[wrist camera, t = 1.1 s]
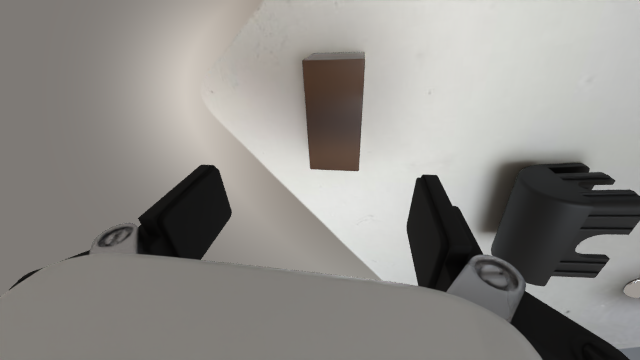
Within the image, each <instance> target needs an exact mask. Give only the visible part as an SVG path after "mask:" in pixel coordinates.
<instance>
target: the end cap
mask: <svg viewBox="0 0 640 360" xmlns="http://www.w3.org/2000/svg"><path fill="white" fill-rule="evenodd" d="M589 169H590V168H589V167H587V166H586V165H584V164H581V163H570V164H544V165H534V166H529V167H527V168H524V169H523V170H521V171H520V172H519V173H518V175H517V178H516V180H515V183H514V186H513V189H512V192H511V194H510V197H509V200H508V203H507V205H506V208H505V211H504V214H503V216H502V219H501V222H500V225H499V227H498V230H497V233H496V236H495V238H494V241H493V244H492V247H491V253H492V256H495V257H498V258H500V259H502V260H504V261H506V262H508V263H509V264H511V265H512V266H513V267H515V268H516V269H517V270H518V271H519V272H520V274H521V275H522V276H523V278H524V280H525V282H526V283H529V284H533V285H537V286H545V285H546V284H547V282H548V280H549V279H550V277H551V276H562V277H586V278H595V277H596V276H597V275H598V273H599V272H600V271H601V269H602V268H603V267H604V266H605V265H606V263H607V262H608V260H609V258H608V257H607V256H606V255H601V254H580V253H577V252H575V248H576V246H577V245H578V244H579V243H580V242H581V241H583V240H585V239H587V238H589V237H592V236H596V235H602V234H626V235H629V234H630V232H631V231H632V230H633V228H634V227H635V226H636V225H637V223H638V222H639V221H640V196H639V195H637V194H636V193H635V192H634V191H631V190H592V188H593V187H594V185H613V183H614V182H615V180H614V179H612V178H611V177H610V176H609V175H606V174H604V173H602V172H591V173H588V172H589Z"/></svg>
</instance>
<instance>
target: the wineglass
mask: <svg viewBox="0 0 640 360" xmlns="http://www.w3.org/2000/svg"><path fill="white" fill-rule="evenodd" d="M623 291H624V293H625V294H626V295H627V296H629V297H633V298H640V279H637V280H634V281H632V282H630V283H629V284H627V285H626V286H625V287H624V289H623Z"/></svg>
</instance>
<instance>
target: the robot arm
mask: <svg viewBox="0 0 640 360" xmlns="http://www.w3.org/2000/svg"><path fill="white" fill-rule="evenodd" d="M231 213H232V212H231V208H230V204H229V201H228V198H227V195H226V191H225V188H224V185H223V182H222V179H221V175H220V172H219V170H218V169H217V168H216V167H215V166H214V165H200V166H199V167H198V168H197V169H195V170H194V171H193V172H192V173H191V174H190V175H188V176H187V177H186V178H185V179H184V180H182V181H181V182H180V183H179V184H178V185H177V186H176V187H174V188H173V189H172V190H171V191H170V192H168V193H167V194H166V195H165V196H164V197H162V198H161V199H160V200H159V201H158V202H157V203H155V204H154V205H153V206H152V207H151V208H150V209H148V210H147V211H146V212H145V213H144V214H143V215H141V216H140V217H139V218H138V219H139V221H140V223H141V225H140V226H139V227H137V225H135V224H133V223H124V224H119V225H116V226H114V227H111V228H109V229H107V230H105V231H104V232H102V233H101V234H100V235H98V236H97V237H96V238H95V240H94V241H93V243H92V246H91V249H90V250H89V251H87V252H84V253H81V254H78V255H76V256H73V257H70V258H68V259H65V260H62V261H60V262H57V263H54V264H51V265H49V266H47V267H44V268H41V269H39V270H36V271H33V272H30V273H28V274H27V275H25V276H23V277H22V278H21V279H20V280H18V282H17V283H16V284H14V285H13V286H12V287H11V288H10V289H9V291H8V292H7V293H5V294H4V295H2V296H0V360H629V359H628V358H627V357H626V356H625V355H624V354H623V353H622V352H621V351H619V350H618V349H616V348H615V347H614V346H612V345H611V344H609V343H608V342H606V341H605V340H603V339H601V338H600V337H598V336H597V335H595V334H593V333H592V332H590V331H589V330H587V329H585V328H584V327H582V326H581V325H579V324H577V323H576V322H574V321H572V320H571V319H569V318H568V317H566V316H564V315H563V314H561V313H560V312H558V311H556V310H555V309H553V308H552V307H550V306H548V305H547V304H545V303H543V302H542V301H540V300H539V299H537V298H535V297H534V296H532V295H531V294H529V293H527V292H526V291H525V287H526V283H525V280H524V278H523V276H522V275H521V274H520V272H519V271H518V270H517V269H516V268H515V267H513V266H512V265H511V264H509V263H508V262H506V261H504V260H502V259H500V258H498V257H495V256H491V255H483V253H482V251H481V249H480V247H479V245H478V243H477V242H476V240H475V238H474V236H473V234H472V232H471V230H470V228H469V226H468V224H467V222H466V221H465V219H464V217H463V215H462V213H461V211H460V209H459V208H458V207H456V206H452V204H451V202H450V200H449V198H448V196H447V194H446V192H445V190H444V188H443V186H442V184H441V182H440V180H439V178H438V176H437V175H422V176H421V178H417V179H416V184H415V188H414V193H413V198H412V202H411V207H410V212H409V217H408V221H407V234H408V239H409V244H410V248H411V253H412V258H413V262H414V267H415V272H416V277H417V281H418V286H415V285H409V284H403V283H396V282H388V281H381V280H373V279H365V278H358V277H349V276H341V275H332V274H323V273H314V272H306V271H297V270H288V269H279V268H270V267H261V266H252V265H243V264H234V263H224V262H215V261H206V260H201V259H202V257H203V256H204V254H205V253H206V252H207V250H208V248H209V247H210V246H211V244H212V243H213V241H214V240H215V239H216V237H217V236H218V234H219V233H220V231H221V230H222V229H223V227H224V226H225V224H226V223H227V222H228V220H229V219H230V217H231Z"/></svg>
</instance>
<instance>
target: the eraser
mask: <svg viewBox="0 0 640 360" xmlns="http://www.w3.org/2000/svg"><path fill="white" fill-rule="evenodd" d="M302 64H303V77H304V91H305V104H306V118H307V131H308V145H309V159H310V169H319V170H343V171H359V157H360V140H361V122H362V105H363V87H364V70H365V52H341V53H313V54H312V55H310V56H309V57H307V58H306V59H304V60H303V61H302Z"/></svg>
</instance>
